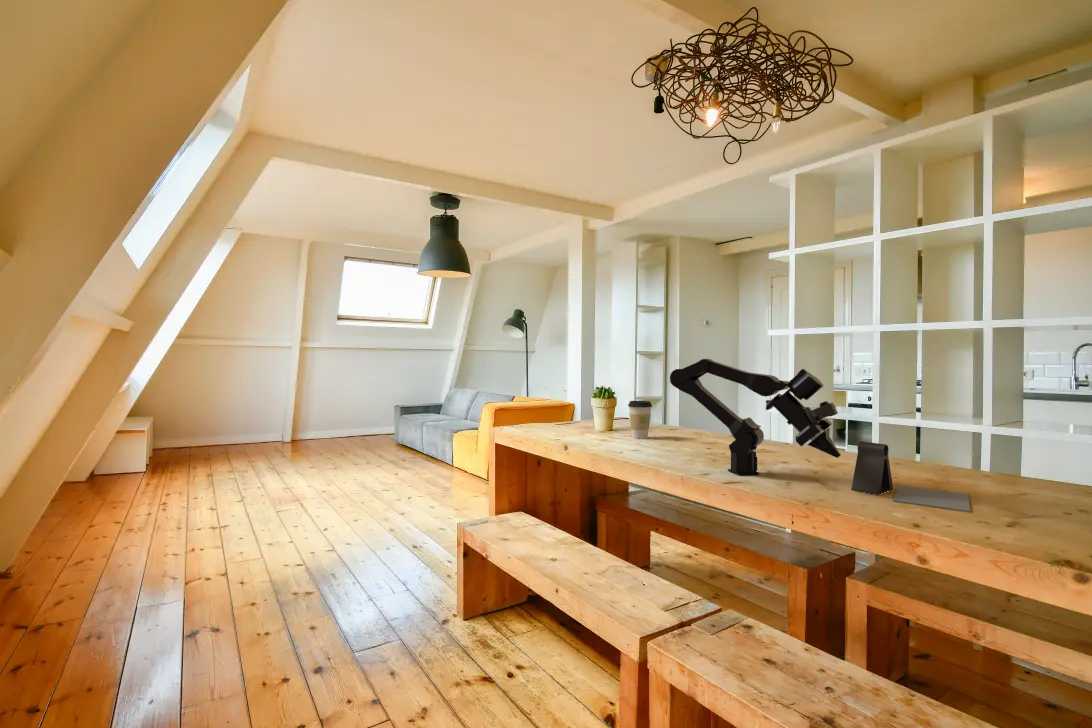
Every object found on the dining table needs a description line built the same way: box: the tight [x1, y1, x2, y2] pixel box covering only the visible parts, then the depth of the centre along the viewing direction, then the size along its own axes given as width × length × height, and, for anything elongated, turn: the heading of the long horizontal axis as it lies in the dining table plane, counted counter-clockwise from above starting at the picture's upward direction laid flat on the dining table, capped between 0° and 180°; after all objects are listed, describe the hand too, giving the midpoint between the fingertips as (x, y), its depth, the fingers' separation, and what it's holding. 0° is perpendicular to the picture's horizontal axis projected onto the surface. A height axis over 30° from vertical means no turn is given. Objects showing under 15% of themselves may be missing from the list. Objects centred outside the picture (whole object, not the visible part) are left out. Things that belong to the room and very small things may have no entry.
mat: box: [893, 484, 971, 513], centre depth 126 cm, size 14×18×1 cm
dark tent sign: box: [851, 441, 894, 496], centre depth 133 cm, size 9×6×12 cm, turn 124°
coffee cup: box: [627, 400, 653, 440], centre depth 217 cm, size 10×10×15 cm
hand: (839, 456), depth 137 cm, fingers closed
